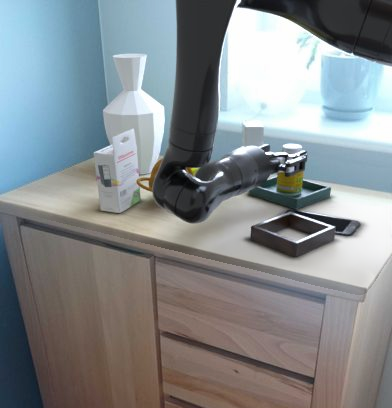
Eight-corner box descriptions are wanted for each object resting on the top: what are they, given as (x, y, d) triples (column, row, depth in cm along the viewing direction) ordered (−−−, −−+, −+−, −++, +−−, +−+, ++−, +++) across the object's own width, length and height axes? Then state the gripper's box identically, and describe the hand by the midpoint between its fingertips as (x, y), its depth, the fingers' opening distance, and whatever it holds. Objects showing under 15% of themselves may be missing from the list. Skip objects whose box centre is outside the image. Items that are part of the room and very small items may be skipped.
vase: (97, 170, 137) (84, 56, 123) (143, 158, 145) (135, 50, 131) (132, 182, 129) (123, 61, 115) (179, 169, 137) (175, 55, 123)
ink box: (121, 197, 120) (115, 125, 112) (141, 201, 118) (136, 127, 110) (98, 210, 114) (90, 135, 105) (119, 214, 112) (112, 137, 104)
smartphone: (350, 238, 101) (351, 234, 101) (273, 224, 107) (273, 220, 107) (361, 225, 106) (362, 221, 106) (287, 212, 113) (288, 208, 112)
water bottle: (179, 182, 130) (121, 202, 110) (189, 143, 125) (129, 156, 105) (213, 196, 128) (160, 219, 108) (224, 157, 123) (170, 173, 103)
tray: (330, 196, 119) (331, 187, 118) (296, 209, 113) (297, 199, 112) (282, 182, 127) (283, 173, 126) (248, 194, 121) (249, 184, 120)
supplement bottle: (298, 198, 117) (303, 150, 111) (273, 195, 118) (276, 148, 113) (303, 190, 121) (308, 143, 115) (279, 187, 122) (282, 141, 117)
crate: (334, 240, 100) (336, 226, 98) (295, 257, 94) (297, 243, 92) (288, 224, 106) (289, 211, 105) (250, 239, 100) (250, 226, 99)
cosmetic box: (263, 182, 128) (266, 126, 121) (243, 182, 128) (245, 127, 121) (259, 173, 133) (261, 120, 126) (240, 174, 133) (242, 120, 126)
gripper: (275, 157, 96) (320, 138, 107) (209, 144, 104) (257, 128, 114) (272, 199, 101) (315, 177, 111) (209, 184, 108) (255, 165, 119)
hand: (286, 152), depth 113 cm, fingers open, 8 cm apart
